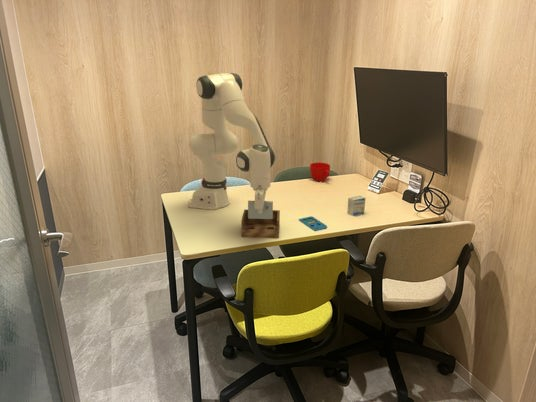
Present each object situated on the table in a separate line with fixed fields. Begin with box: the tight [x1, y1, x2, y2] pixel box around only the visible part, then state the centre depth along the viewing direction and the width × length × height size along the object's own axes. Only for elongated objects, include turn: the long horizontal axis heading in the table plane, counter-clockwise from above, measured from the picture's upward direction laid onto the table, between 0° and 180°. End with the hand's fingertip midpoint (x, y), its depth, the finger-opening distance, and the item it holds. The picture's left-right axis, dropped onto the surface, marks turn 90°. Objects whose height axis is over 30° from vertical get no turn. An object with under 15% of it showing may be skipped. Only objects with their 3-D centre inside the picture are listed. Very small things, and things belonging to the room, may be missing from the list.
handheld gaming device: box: [298, 216, 328, 232], centre depth 193 cm, size 8×1×15 cm
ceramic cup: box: [309, 162, 331, 182], centre depth 255 cm, size 13×17×10 cm
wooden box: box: [240, 208, 281, 239], centre depth 184 cm, size 17×14×8 cm
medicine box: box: [346, 195, 366, 217], centre depth 205 cm, size 8×4×9 cm, turn 117°
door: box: [247, 200, 274, 219], centre depth 176 cm, size 11×3×8 cm, turn 87°
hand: (260, 211), depth 177 cm, fingers closed on door, 2 cm apart
